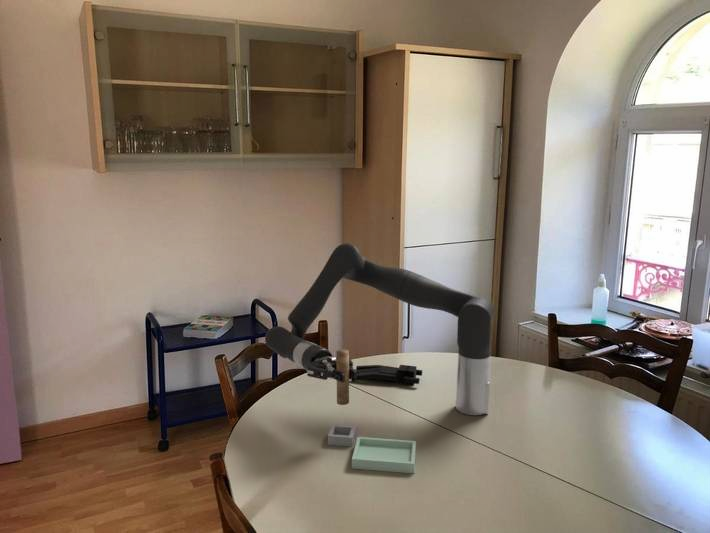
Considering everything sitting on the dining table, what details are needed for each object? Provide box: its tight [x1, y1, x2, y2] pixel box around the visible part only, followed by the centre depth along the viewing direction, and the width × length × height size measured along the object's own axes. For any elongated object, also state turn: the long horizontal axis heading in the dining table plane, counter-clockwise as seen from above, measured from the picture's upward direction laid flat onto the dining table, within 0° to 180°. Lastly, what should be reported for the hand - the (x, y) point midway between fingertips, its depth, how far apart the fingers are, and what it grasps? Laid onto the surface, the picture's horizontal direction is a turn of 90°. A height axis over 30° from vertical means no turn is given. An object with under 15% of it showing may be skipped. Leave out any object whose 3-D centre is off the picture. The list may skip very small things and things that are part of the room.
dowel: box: [335, 348, 350, 406], centre depth 153 cm, size 3×3×14 cm
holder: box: [327, 424, 357, 447], centre depth 157 cm, size 6×6×2 cm
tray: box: [351, 436, 417, 474], centre depth 148 cm, size 15×11×2 cm
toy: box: [349, 364, 423, 386], centre depth 197 cm, size 9×6×30 cm
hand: (349, 376), depth 151 cm, fingers closed on dowel, 3 cm apart
